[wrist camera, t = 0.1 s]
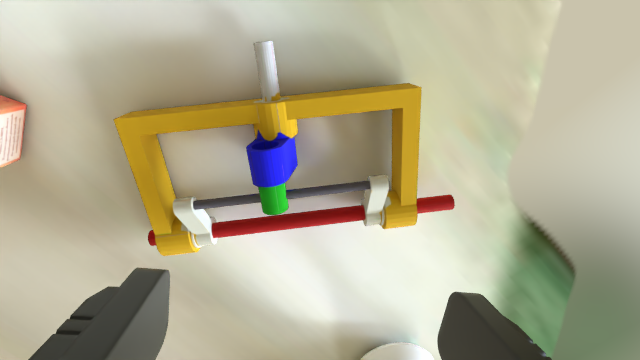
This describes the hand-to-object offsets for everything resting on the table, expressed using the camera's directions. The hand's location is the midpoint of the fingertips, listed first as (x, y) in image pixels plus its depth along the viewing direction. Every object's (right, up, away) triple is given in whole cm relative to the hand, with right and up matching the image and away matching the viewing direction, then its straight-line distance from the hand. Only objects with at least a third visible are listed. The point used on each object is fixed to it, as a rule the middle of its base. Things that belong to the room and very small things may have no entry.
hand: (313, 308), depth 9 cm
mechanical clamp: (-2, +7, +21) cm, 23 cm away
